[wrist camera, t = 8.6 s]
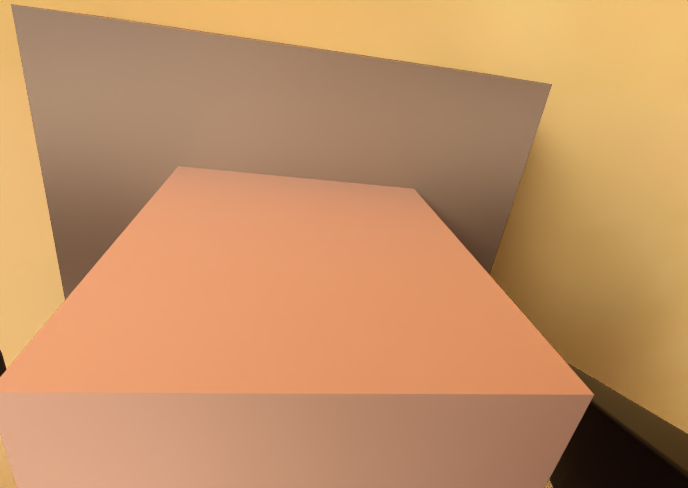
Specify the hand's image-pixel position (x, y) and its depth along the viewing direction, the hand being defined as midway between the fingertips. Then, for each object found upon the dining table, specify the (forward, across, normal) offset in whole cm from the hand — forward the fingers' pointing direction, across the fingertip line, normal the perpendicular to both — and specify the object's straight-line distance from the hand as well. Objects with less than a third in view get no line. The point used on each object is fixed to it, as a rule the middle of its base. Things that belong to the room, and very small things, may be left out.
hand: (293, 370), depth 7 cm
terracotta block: (+3, 0, 0) cm, 3 cm away
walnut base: (+6, 0, 0) cm, 6 cm away
